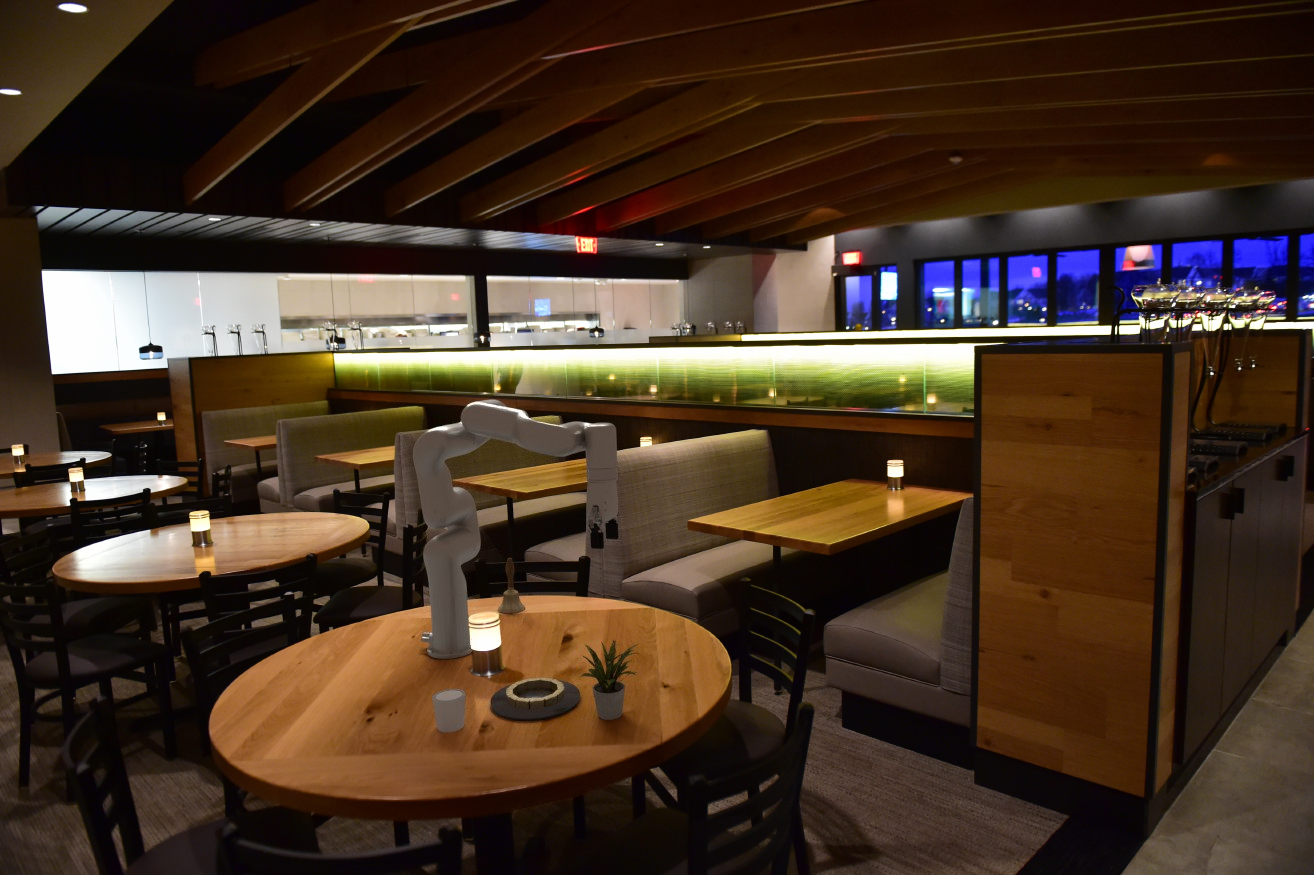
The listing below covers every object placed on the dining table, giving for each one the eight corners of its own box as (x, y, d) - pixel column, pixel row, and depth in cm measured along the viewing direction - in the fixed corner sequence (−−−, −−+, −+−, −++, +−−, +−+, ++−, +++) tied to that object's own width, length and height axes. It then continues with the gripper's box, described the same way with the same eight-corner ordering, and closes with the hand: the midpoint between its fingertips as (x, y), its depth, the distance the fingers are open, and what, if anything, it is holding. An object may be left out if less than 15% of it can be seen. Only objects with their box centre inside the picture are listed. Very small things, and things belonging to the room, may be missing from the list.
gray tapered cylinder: (471, 719, 182) (469, 688, 182) (461, 734, 176) (459, 702, 175) (440, 719, 183) (438, 688, 182) (429, 733, 176) (427, 701, 175)
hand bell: (529, 605, 260) (526, 554, 258) (519, 614, 252) (517, 562, 250) (503, 604, 262) (500, 554, 260) (493, 613, 254) (490, 561, 252)
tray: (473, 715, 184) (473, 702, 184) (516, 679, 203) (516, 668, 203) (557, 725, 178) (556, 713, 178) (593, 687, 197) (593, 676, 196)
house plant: (651, 727, 176) (649, 651, 174) (585, 735, 173) (582, 659, 171) (638, 699, 190) (636, 629, 188) (577, 706, 187) (574, 635, 185)
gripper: (601, 468, 213) (603, 534, 215) (573, 480, 197) (576, 551, 199) (629, 469, 211) (631, 536, 213) (603, 480, 194) (606, 553, 196)
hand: (605, 543), depth 206 cm, fingers open, 9 cm apart
